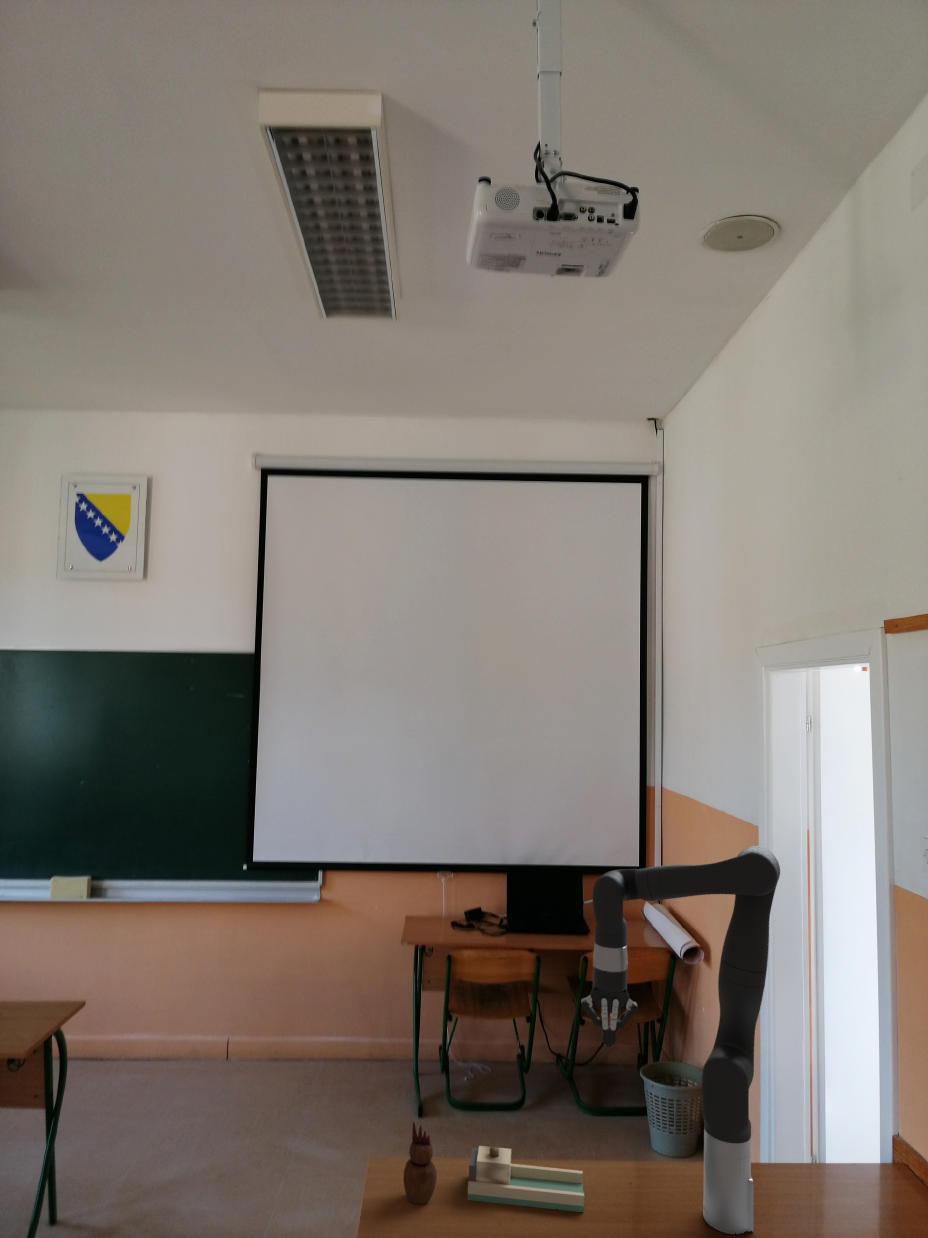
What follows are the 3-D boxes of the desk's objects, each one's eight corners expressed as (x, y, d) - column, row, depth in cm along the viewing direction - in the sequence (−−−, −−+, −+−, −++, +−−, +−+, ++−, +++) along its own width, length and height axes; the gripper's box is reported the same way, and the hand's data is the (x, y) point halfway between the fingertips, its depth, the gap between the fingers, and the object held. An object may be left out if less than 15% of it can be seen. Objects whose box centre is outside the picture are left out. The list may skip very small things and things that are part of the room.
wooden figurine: (397, 1201, 169) (401, 1125, 171) (412, 1187, 174) (415, 1113, 176) (426, 1212, 166) (429, 1134, 168) (440, 1197, 171) (443, 1122, 173)
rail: (582, 1187, 177) (582, 1156, 177) (583, 1212, 168) (584, 1180, 169) (471, 1175, 180) (472, 1145, 180) (467, 1200, 171) (468, 1168, 171)
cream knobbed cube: (510, 1176, 177) (511, 1143, 178) (508, 1192, 171) (510, 1158, 172) (478, 1172, 178) (479, 1140, 179) (475, 1189, 172) (476, 1155, 173)
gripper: (638, 961, 185) (637, 1041, 183) (579, 957, 187) (577, 1036, 185) (642, 972, 178) (640, 1056, 176) (580, 968, 179) (578, 1050, 178)
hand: (608, 1046), depth 181 cm, fingers closed
